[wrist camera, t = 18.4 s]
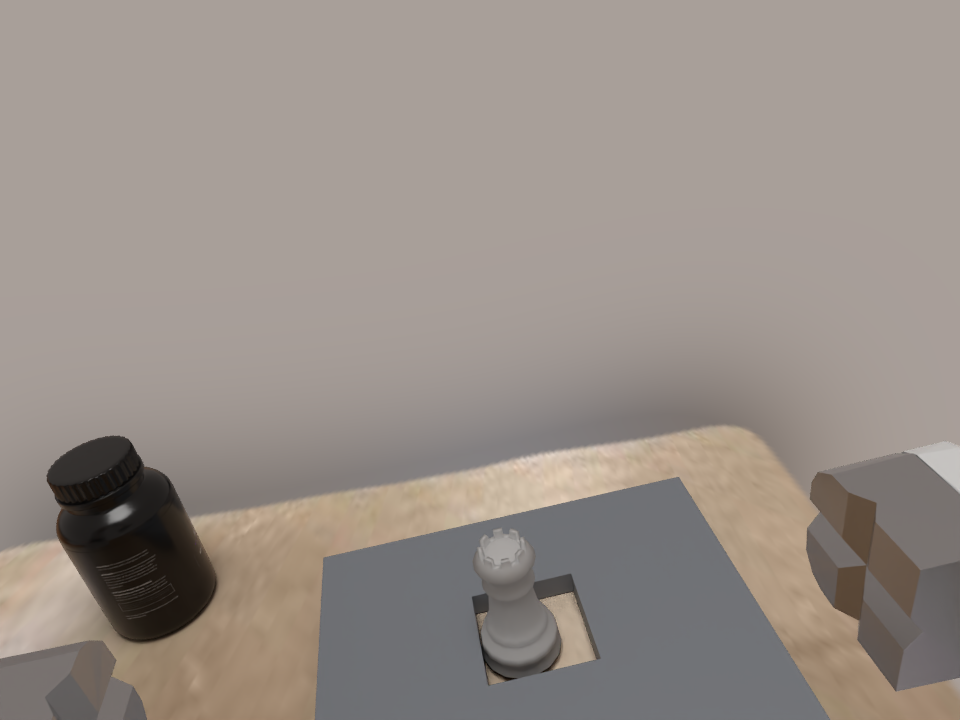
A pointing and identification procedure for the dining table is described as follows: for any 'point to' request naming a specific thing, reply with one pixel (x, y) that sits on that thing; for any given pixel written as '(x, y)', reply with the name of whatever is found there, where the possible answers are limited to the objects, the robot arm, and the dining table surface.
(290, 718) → the dining table surface
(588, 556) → the socket board
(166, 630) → the supplement bottle
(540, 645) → the rook chess piece
